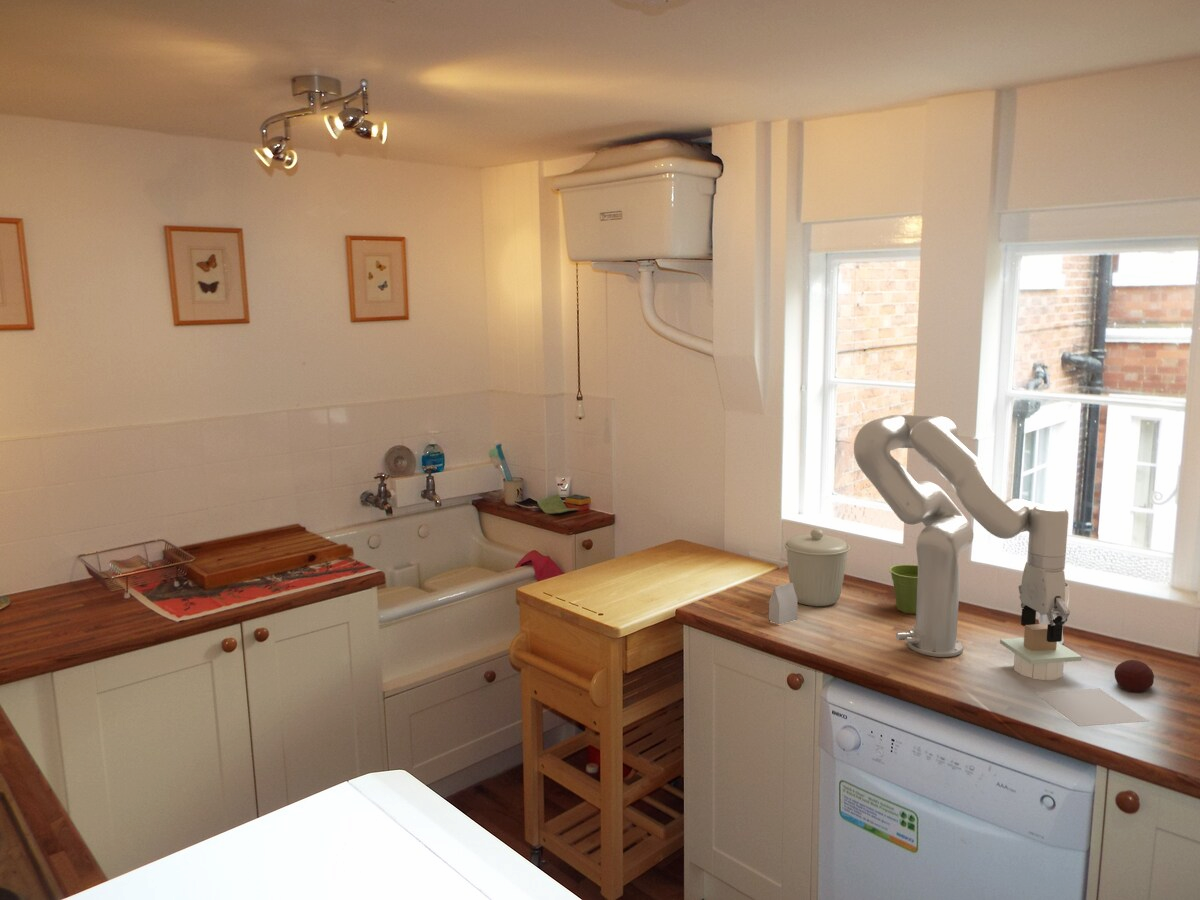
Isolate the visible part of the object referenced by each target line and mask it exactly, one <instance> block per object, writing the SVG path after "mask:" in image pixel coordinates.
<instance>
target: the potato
mask: <svg viewBox="0 0 1200 900" xmlns="http://www.w3.org/2000/svg"><path fill="white" fill-rule="evenodd" d="M1114 678H1115V679H1114V680H1115V681H1116V683H1117V685H1118V686H1119V687H1120V688H1122V689H1123V690H1125V691H1128V692H1132V693H1142V692H1146V691H1148V690H1149V689H1150V688H1151V687H1152V686H1153V685H1154V681H1155V680H1154V679H1155V675H1154V672H1153V669H1152V668H1150V666H1148V664H1146V663H1145V662H1143V661H1140V660H1136V659H1129V660H1124V661H1122V662H1121V663H1119V664H1118V665H1117V666H1116V667H1115V669H1114Z"/></svg>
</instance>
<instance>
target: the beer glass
mask: <svg viewBox="0 0 1200 900" xmlns="http://www.w3.org/2000/svg"><path fill="white" fill-rule="evenodd" d="M1069 603H1070V584H1069V582H1066V581H1065V605H1066V606H1067V608H1068V609H1069ZM1051 611H1053V610H1051ZM1037 616H1038V624H1050V622H1049V619H1048V616H1047V614H1041V613H1039V612H1037ZM1053 617H1054V619H1055V618H1056V617H1057V615H1053ZM1063 629H1064V627H1063V628H1062V640H1061V641H1060V642H1059V643H1060V644H1062V645H1063V644H1064V641H1065V640H1064V632H1063Z"/></svg>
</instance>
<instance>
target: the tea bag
mask: <svg viewBox="0 0 1200 900" xmlns="http://www.w3.org/2000/svg"><path fill="white" fill-rule="evenodd" d="M768 603H769V604H768V621H769V620H770V621H772V622H775V623H777V624H782V623H786V622H790V621H793V620H798V601H797V596H796V593H795V590H794V586H793V583H790V582H789V583H785V584H781V585H778V586H774V587H773V590H772V594H771V596H770V597H769V600H768ZM793 622H794V621H793ZM790 623H791V622H790Z"/></svg>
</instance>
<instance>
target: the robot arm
mask: <svg viewBox="0 0 1200 900" xmlns="http://www.w3.org/2000/svg"><path fill="white" fill-rule="evenodd" d="M958 437H959V431H958V428H957V426H956V424H955V423H954V422H953V421H952V419H950V418H948V417H945V416H942V415H941V416H940V415H916V414H915V415H913V414H912V415H909V414H908V415H907V414H894V415H888V416H883V417H880V418H876V419H873V420H871V421H869V422H866V424H864V425H863V426H862V427H861V428H860V429H859V431H858V432H857V434H856V437H855V439H854V444H853V454H854V458H855V461H856V464H857V466H858V467H859V469H860V471H861V472H862V473H863V474H864V475H865V477H866V478H867V480H869V482H870V483H871V485H873V486H874V488H875V489H876V490H877V492H878V494H879V495H880V496H881V497H882V498H883V500H884V501H885V502H886V504H887V505H888V506H889V507H890V509H891V510H892V512H894V514H895V515H896V516H897V518H898V519H899V520H900V521H901V522H903V523H904V524H907V525H910V526H911V525H918V524H921V523H922V524H923V526H924V527H923V529H922V530H920V532H919V535H918V536H917V539H916V543H915V545H916V547H915V550H916V559H917V560H916V562H917V565H918V581H917V604H916V614H915V626H911V628H910V630H908V631H907V632H904V631H902V632H901V631H900V632H896V633H895V639H896V641H905V643H906V644H908V647H909V649H911V650H913V651H914V652H916V653H919V654H922V655H923V656H924V655H925V656H930V657H936V658H950V657H951V658H952V657H956V656H958V655H960V654H962V653H963V650H964V645H963V644H962V643H961V642H960V641H959V640H958V639H957V634H958V620H959V619H958V617H959V601H960V584H961V583H960V580H961V579H960V565H959V555H960V554H962V553H963V552H965V551H966V550H967V549H969V547H970V546H971V545H972V543H973V540H974V531H973V530H974V529H973V527H972V525H971V523H970V522H969V519H967V518H966V516H965V515H964V514H963V513H962V511H961V510H960V508H959V507H958V506H957V505H956V504H955V503H954V501H953V500H952V499H951V498H950V497H949V495H948V494H947V493H946V492H945V490H944V489H942V488H941V487H940V486H939V485H938V484H936V483H935V482H932V481H930V480H917V481H916V480H915V479H914V478H913V477H912V475H911V474H910V473H909V472H908V471H907V469H906V468H905V467H904V465H903V464H902V463H901V462H899V461H898V460H897V459H895V457H894V456H892V454H891V452H892V451H894V450H896V449H914V450H915V452H917V453H918V454H919V455H920V456H921V457H922V458H923V459H924V460H925V462H927V463H928V464H929V465H930V466H931V467H933V469H934V470H936V471H937V472H938V473H939V474H940V475H941V476H942V477H943V478H944V479H945V480H946V481H947V482H948V483H949V484H950V485H951V487H952V488H953V490H954V492H955V494H956V496H957V498H958V500H959V501H960V503H961V504H962V506H963V507H964V509H965V510H966V511H967V512H968V513H969V515H970V516H971V517H972V518H973V519H974V520H975V521H976V522H977V523H979V525H980V526H981V527H983V529H985V530H986V531H987V532H988V533H989V534H991V535H992V536H995V537H997V538H998V539H999V538H1000V539H1004V540H1005V539H1006V540H1007V539H1012V538H1015V537H1016V536H1018V535H1019V534H1021V533H1024V532H1028V543H1027V544H1028V545H1027V546H1028V547H1027V560H1026V561H1025V565H1024V568H1023V571H1022V572H1023V573H1022V578H1021V584H1020V585H1019V586H1018V592H1019V600H1020V608H1021V616H1020V617H1021V619H1020V625H1021V626H1022V627H1025V625H1034V624H1036V619H1037V613H1038V612H1039V613H1041V614H1047V616H1048V619H1049V622H1050V624H1048V628H1047V641H1048V642H1060V641H1061V640H1062V628H1063V629H1064V625H1066V624H1065V623H1066V622H1067V621H1068V618H1069V616H1070V614H1071V612H1070V608H1069V607H1068V608H1067V606H1066V605H1065V582H1066V577H1065V567H1066V554H1067V541H1068V531H1069V530H1068V529H1069V527H1068V526H1069V512H1068V510H1067V509H1066V508H1065V507H1063V506H1060V505H1055V504H1054V505H1053V504H1041V503H1036V502H1032V501H1029V500H1025V499H1021V498H1010V499H1009V498H1008V499H1007V500H1005V501H1004V500H1002V499H1001V498H1000V497H999V496H998V495H997V494H996V493H995V492H994V491H993V489H992V488H991V487H990V486H989V484H988V483H987V481H986V479H985V476H984V473H983V467H982V466H983V465H982V462H981V459H979V458H978V457H977V456H976V455H975V454H974V453H973V452H972V451H971V450H970V449H968V448H967V446H965V445H964V444H963V443H962V442H961V441H960V440H959V439H958ZM1051 610H1053V611H1051ZM1053 615H1057V617H1056V618H1055V619H1054V617H1053Z"/></svg>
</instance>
